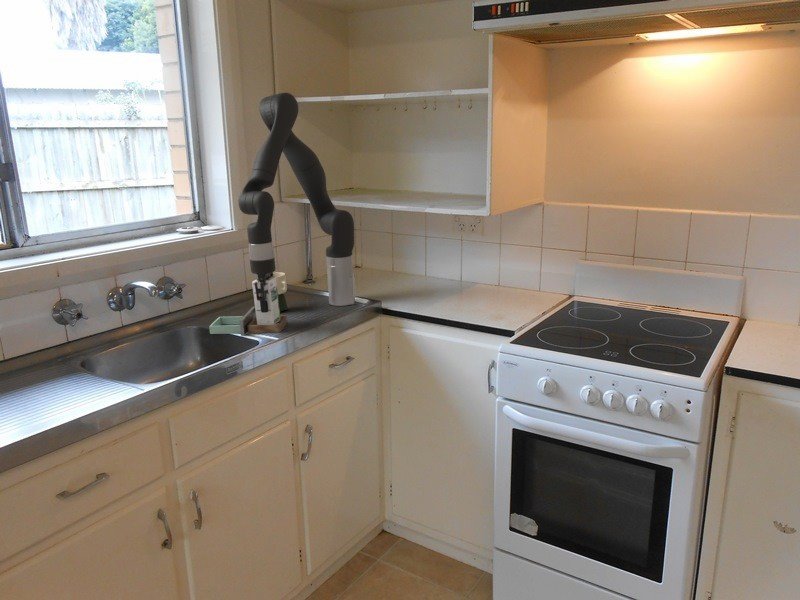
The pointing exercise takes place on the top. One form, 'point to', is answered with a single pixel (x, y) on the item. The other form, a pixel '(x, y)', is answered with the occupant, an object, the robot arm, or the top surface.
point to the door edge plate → (247, 320)
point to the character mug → (281, 289)
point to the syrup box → (273, 304)
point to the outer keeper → (228, 329)
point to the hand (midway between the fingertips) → (267, 308)
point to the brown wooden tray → (267, 326)
